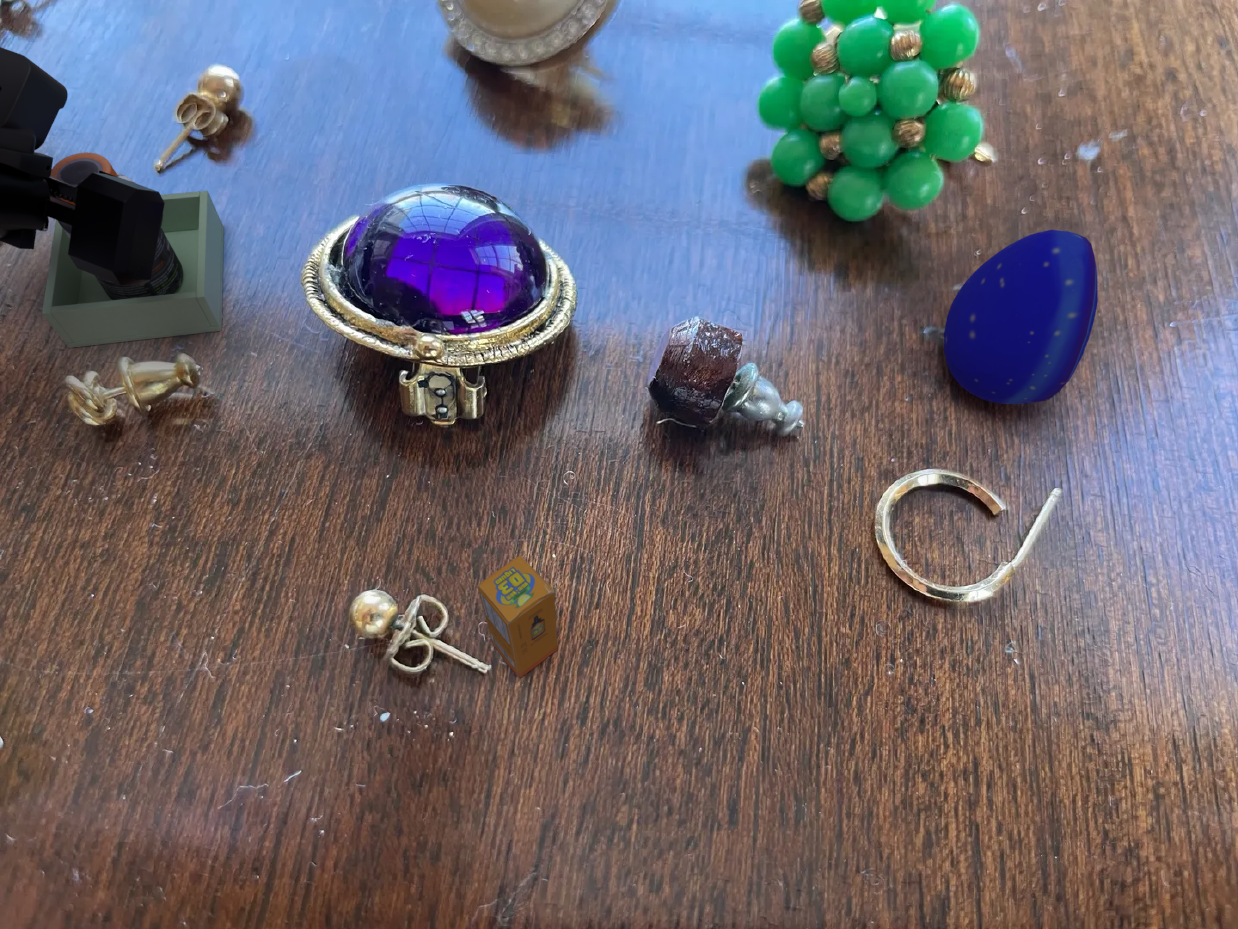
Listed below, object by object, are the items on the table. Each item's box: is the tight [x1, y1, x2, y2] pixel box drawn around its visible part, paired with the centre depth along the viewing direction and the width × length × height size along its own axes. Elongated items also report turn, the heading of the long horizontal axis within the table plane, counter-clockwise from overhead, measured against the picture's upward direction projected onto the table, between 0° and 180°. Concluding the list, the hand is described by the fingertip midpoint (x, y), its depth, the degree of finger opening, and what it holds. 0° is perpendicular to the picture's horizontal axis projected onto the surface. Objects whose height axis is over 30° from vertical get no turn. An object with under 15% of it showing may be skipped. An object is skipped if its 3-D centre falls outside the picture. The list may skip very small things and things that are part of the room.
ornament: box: [943, 229, 1099, 405], centre depth 65 cm, size 11×9×15 cm
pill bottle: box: [50, 151, 183, 300], centre depth 65 cm, size 6×6×11 cm
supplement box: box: [477, 555, 559, 678], centre depth 53 cm, size 3×3×10 cm
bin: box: [41, 190, 225, 349], centre depth 69 cm, size 11×11×4 cm
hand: (121, 205), depth 65 cm, fingers open, 6 cm apart
